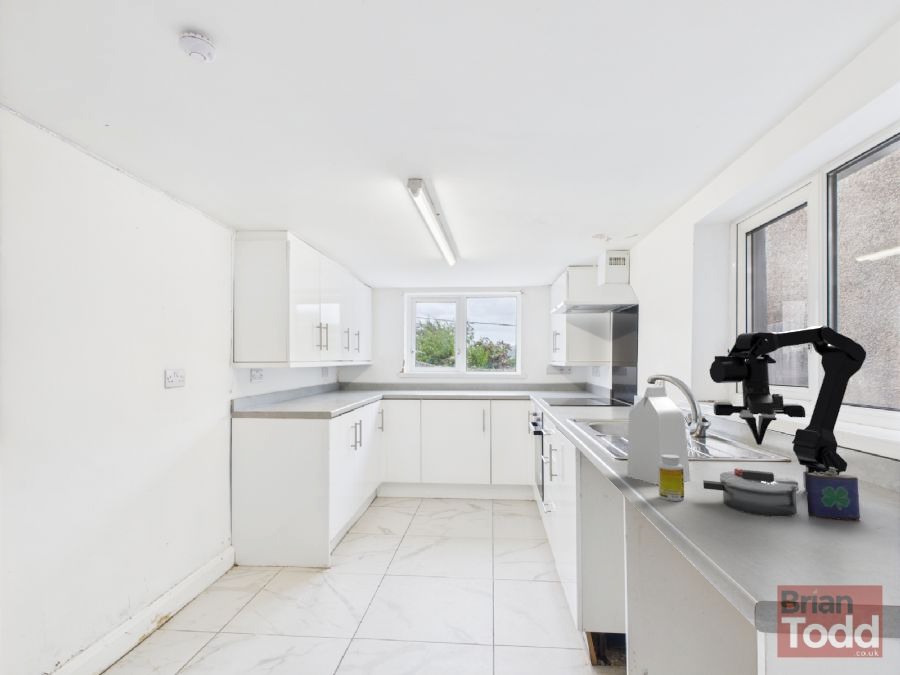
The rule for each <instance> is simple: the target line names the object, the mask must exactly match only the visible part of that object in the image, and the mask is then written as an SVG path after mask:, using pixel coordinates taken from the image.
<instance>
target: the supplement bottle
mask: <svg viewBox="0 0 900 675" xmlns="http://www.w3.org/2000/svg"><path fill="white" fill-rule="evenodd" d="M679 463H680V460H679V456H676V455H662V463H659V465H658V476H659V485H658V495H659V498H661V499H662V500H665V501H669V500H670V501H671V502H681V501H683V500H684V499H685V482H684V474H683V466H682V465H681V464H679Z"/></svg>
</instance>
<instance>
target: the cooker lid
mask: <svg viewBox="0 0 900 675" xmlns="http://www.w3.org/2000/svg"><path fill="white" fill-rule="evenodd" d="M719 482H722V483H723V484H725V485H728V486H731V487H734V488H738V489H743V490H748V491H755V492H763V493H793V492H796V493H797V492H798V491H799V482H798V481H797V480H794V479H792V478H789V477H786V476H782V475H778V474H777V475H776V474H774V472H772V471H764V470H763V471H760V470H749V469H742V468H734V471H725V472H721V473H720V474H719Z"/></svg>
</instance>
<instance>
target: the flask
mask: <svg viewBox="0 0 900 675" xmlns="http://www.w3.org/2000/svg"><path fill="white" fill-rule="evenodd" d="M829 468H830V469H829V471H826V472H819V473H823V474H819V473H817V472H816V471H814V473H807V474H806V485H807V490H806V500H807V514H808V516H809V517H811V518H815V517H816V518H817V519H824V518H825V519H826V520H839V521H860V519H861V515H860V514H861V513H860V501H859V500H860V499H859V498H860V496H859V495H860V494H859V480H858V479H859V478H858V477H857V476H855V475H849V474H839V475H836V474H837V472H836V470H838V469H835V468H834V467H829Z"/></svg>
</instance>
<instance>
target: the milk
mask: <svg viewBox="0 0 900 675" xmlns="http://www.w3.org/2000/svg"><path fill="white" fill-rule="evenodd" d="M627 433H628V434H627V467H626V468H627V470H626V471H627V474H626V477H627V476H628V477H627V478H630V477H632V478H631V479H634V478H636V479H635V480H637V479H640V480H639V481H641V480H644V481H643V482H645V481H647V482H646V483H649V482H651V483H650V484H652V483H654V484H653V485H656V484H658V485H657V486H659V476H658V465H659V463H662V455H676V456H679V460H680V463H679V464H681V465H682V466H683V474H684V481H686V482H689V480H690V481H691V473H690V472H691V471H690V461H689V451H688V440H687V431H686V418H685V415H684V413H683V411H682V410H681V409H680V408H679V407H678V406H677V404H676V403H674V401H673V400H671V399H670V398H669V397H668V394H667V391H666V387H665V386H652V387H651V386H647V387H646V389H645V392H644V396H643V398H641V399H640V400H639V401H638V402H637V403H636V404H635V405H634V406H633V407H632V408H631V409H630V411H629V413H628V429H627Z"/></svg>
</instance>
